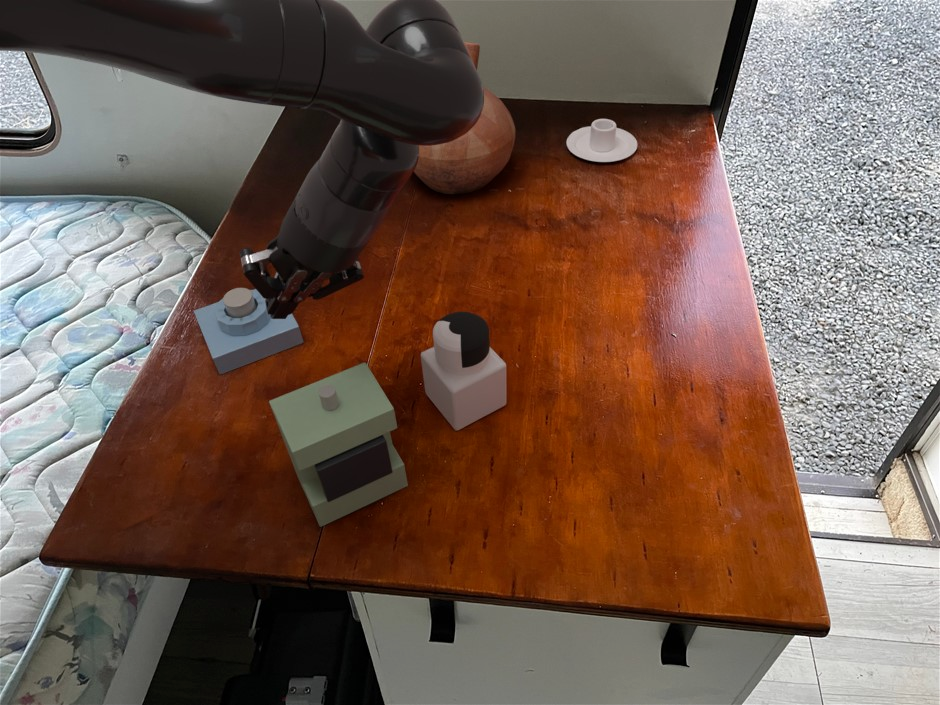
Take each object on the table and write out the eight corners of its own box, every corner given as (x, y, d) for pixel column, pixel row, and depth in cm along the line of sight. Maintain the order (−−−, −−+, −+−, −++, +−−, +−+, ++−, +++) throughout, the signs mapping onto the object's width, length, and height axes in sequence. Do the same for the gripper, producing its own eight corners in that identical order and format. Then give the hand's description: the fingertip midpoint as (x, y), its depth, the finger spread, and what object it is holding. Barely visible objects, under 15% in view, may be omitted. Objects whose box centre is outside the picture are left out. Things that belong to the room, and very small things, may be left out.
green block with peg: (320, 527, 73) (287, 439, 62) (297, 477, 77) (263, 386, 66) (408, 486, 76) (391, 394, 65) (382, 440, 80) (362, 347, 69)
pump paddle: (328, 502, 70) (317, 471, 66) (324, 495, 70) (313, 463, 66) (393, 472, 72) (386, 440, 68) (389, 465, 72) (382, 433, 68)
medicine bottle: (474, 368, 87) (470, 295, 78) (507, 405, 83) (507, 332, 74) (424, 393, 85) (414, 320, 76) (455, 433, 80) (449, 360, 72)
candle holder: (564, 130, 126) (565, 107, 123) (632, 128, 125) (635, 105, 122) (568, 166, 118) (569, 142, 115) (641, 165, 117) (644, 141, 114)
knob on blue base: (219, 375, 88) (207, 347, 84) (200, 327, 94) (188, 299, 91) (303, 342, 91) (295, 314, 88) (279, 298, 98) (271, 270, 94)
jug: (477, 220, 108) (472, 95, 94) (382, 189, 115) (364, 68, 101) (534, 163, 119) (537, 43, 105) (444, 137, 126) (435, 22, 112)
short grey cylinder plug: (231, 322, 88) (227, 310, 86) (224, 305, 90) (219, 293, 89) (259, 312, 89) (255, 300, 87) (251, 296, 91) (247, 283, 90)
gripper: (390, 186, 69) (324, 284, 81) (257, 169, 61) (206, 280, 73) (412, 250, 66) (340, 341, 78) (274, 240, 58) (219, 343, 70)
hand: (275, 311), depth 76 cm, fingers closed
